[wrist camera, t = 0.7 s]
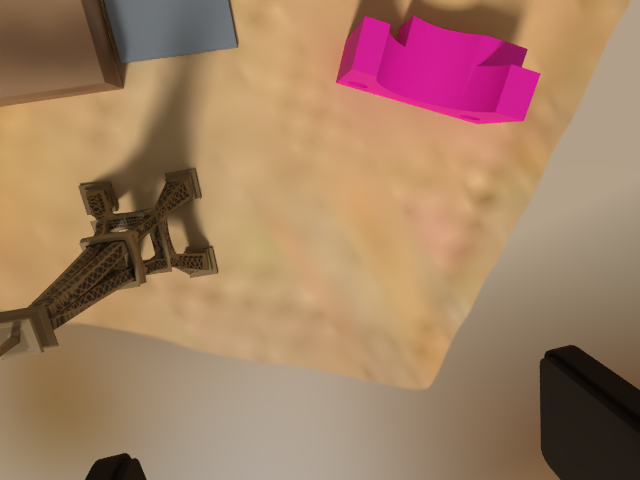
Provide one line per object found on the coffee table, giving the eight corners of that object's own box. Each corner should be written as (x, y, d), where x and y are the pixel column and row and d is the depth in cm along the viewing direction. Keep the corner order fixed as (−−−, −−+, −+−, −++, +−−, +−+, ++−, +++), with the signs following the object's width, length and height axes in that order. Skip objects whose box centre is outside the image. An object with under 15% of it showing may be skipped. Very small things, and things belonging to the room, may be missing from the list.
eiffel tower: (217, 272, 39) (135, 485, 15) (112, 289, 38) (-155, 546, 14) (195, 169, 36) (48, 229, 12) (80, 185, 35) (-324, 286, 11)
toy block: (497, 59, 37) (552, 40, 30) (476, 124, 39) (523, 120, 31) (352, 11, 34) (374, -22, 27) (335, 83, 36) (351, 69, 29)
